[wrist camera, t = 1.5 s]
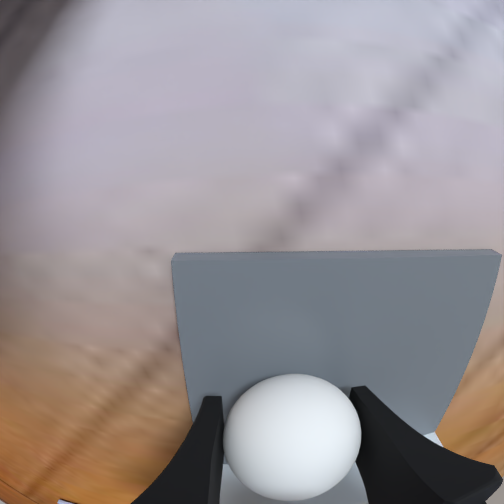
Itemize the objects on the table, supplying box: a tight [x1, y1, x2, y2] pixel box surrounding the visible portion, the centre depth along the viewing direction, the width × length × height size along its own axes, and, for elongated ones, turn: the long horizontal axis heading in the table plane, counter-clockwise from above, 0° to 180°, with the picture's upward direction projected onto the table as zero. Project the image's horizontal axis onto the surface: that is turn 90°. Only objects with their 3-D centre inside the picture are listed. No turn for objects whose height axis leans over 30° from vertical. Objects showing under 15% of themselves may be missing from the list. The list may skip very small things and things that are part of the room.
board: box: [171, 249, 502, 504], centre depth 13 cm, size 14×24×4 cm, turn 0°
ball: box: [223, 374, 361, 501], centre depth 10 cm, size 5×5×5 cm
